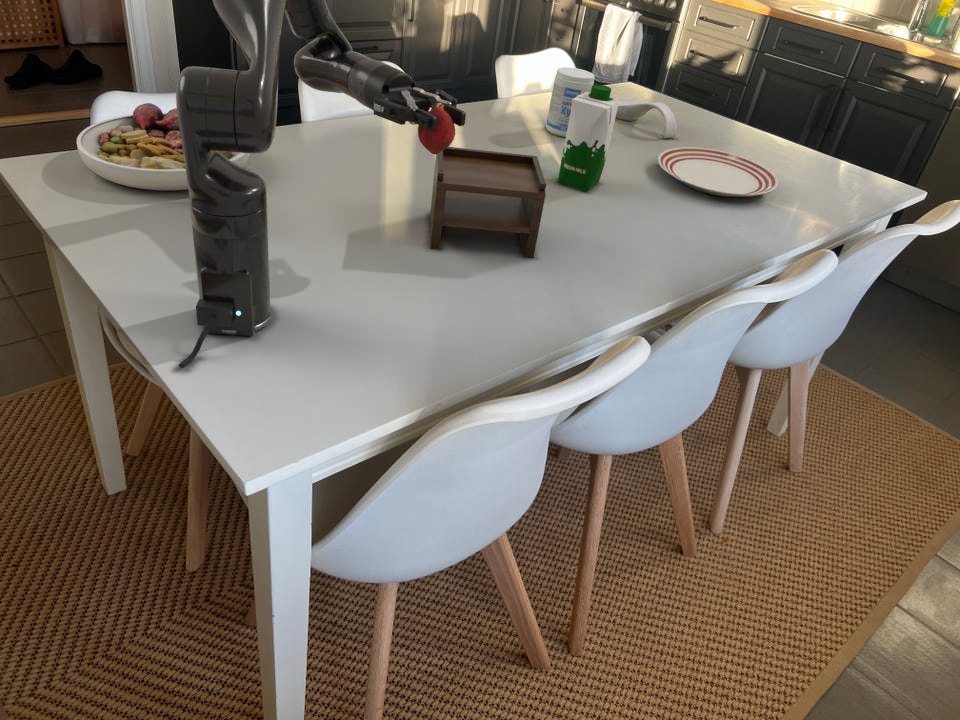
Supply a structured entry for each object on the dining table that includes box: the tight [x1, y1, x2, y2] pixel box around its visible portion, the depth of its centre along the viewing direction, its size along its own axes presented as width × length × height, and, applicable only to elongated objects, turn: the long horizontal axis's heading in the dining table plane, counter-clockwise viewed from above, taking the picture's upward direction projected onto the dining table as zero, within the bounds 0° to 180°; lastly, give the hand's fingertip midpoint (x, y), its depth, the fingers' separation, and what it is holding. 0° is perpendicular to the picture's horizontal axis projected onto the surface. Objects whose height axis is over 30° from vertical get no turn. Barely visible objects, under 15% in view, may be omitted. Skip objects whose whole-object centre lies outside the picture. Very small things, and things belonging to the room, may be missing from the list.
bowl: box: [76, 102, 252, 191], centre depth 141 cm, size 30×30×8 cm
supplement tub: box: [545, 66, 595, 138], centre depth 187 cm, size 10×10×15 cm
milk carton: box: [557, 84, 619, 193], centre depth 157 cm, size 9×9×20 cm
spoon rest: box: [612, 97, 678, 139], centre depth 203 cm, size 24×12×7 cm, turn 34°
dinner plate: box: [657, 146, 779, 198], centre depth 174 cm, size 27×27×3 cm
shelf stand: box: [429, 146, 547, 259], centre depth 132 cm, size 14×18×13 cm
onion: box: [417, 103, 456, 155], centre depth 117 cm, size 6×6×8 cm
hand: (449, 121), depth 114 cm, fingers closed on onion, 5 cm apart
